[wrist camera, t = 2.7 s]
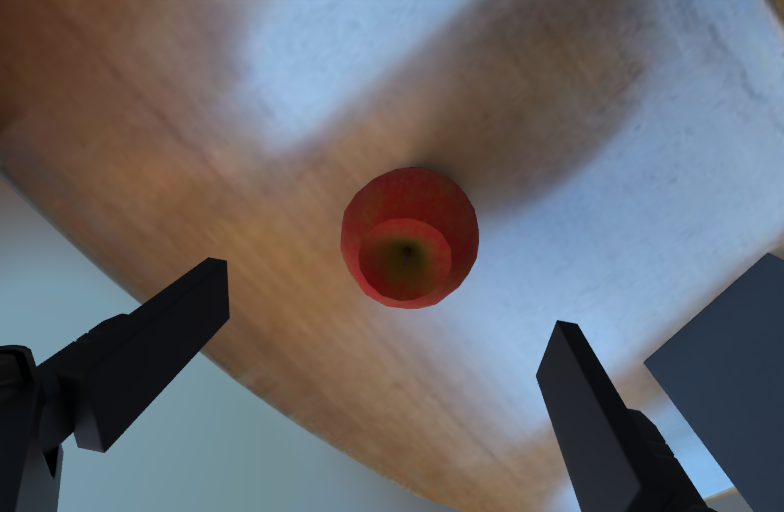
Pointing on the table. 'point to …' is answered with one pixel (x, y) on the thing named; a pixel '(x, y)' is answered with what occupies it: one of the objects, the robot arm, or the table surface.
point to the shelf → (735, 381)
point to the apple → (409, 237)
